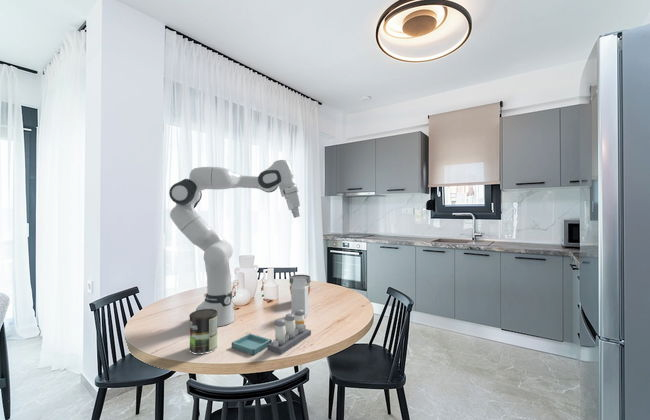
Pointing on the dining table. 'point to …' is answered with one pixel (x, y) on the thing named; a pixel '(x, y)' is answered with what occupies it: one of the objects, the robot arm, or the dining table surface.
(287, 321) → the middle fuse
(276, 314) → the dining table surface
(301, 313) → the marked fuse
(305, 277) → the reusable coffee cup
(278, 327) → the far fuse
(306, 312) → the milk carton
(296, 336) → the fuse block
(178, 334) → the dining table surface
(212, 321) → the coffee can
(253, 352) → the tray
